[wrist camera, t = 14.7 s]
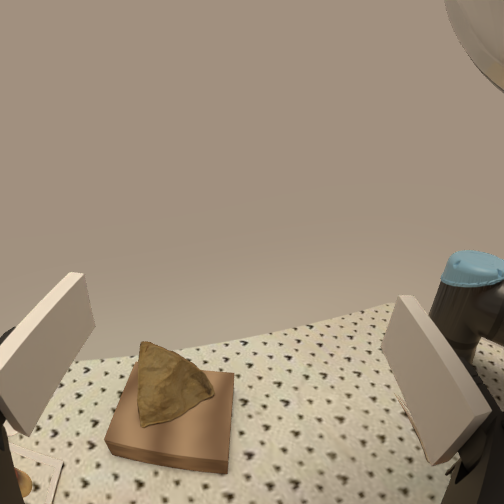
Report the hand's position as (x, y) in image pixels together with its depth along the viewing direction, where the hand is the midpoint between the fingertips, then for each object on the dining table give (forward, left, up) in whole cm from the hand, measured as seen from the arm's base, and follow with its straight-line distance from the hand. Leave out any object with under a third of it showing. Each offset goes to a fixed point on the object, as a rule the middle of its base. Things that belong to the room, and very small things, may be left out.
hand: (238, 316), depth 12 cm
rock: (+8, -15, -26) cm, 31 cm away
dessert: (+27, +3, -31) cm, 41 cm away
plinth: (+8, -15, -30) cm, 34 cm away
